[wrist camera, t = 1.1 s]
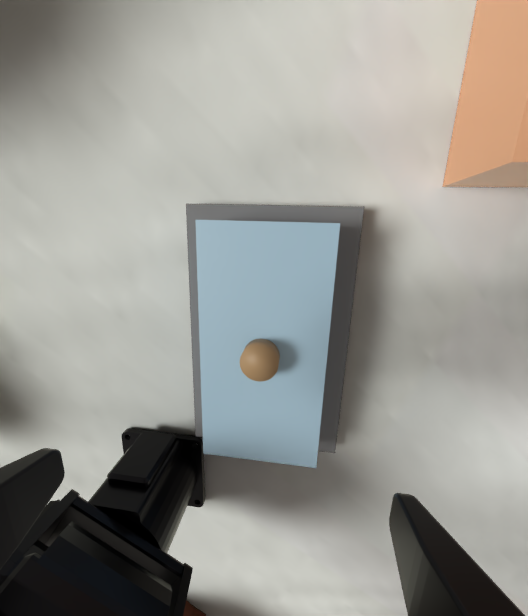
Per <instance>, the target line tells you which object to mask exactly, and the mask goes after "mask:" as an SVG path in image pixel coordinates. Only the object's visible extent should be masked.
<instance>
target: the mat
mask: <svg viewBox="0 0 528 616" xmlns="http://www.w3.org/2000/svg"><path fill="white" fill-rule="evenodd" d="M363 212H364V207H349V206H291V205H234V204H186V215H187V239H188V263H189V287H190V311H191V335H192V359H193V383H194V407H195V431H196V436H199V437H203V429H202V400H201V370H200V340H199V311H198V281H197V251H196V222H195V220H230V221H271V222H311V223H340V231H339V241H338V252H337V262H336V272H335V282H334V292H333V303H332V313H331V323H330V333H329V343H328V354H327V364H326V374H325V384H324V394H323V404H322V415H321V425H320V435H319V445H318V451H322V452H330V453H335V449H336V441H337V432H338V424H339V415H340V407H341V398H342V390H343V382H344V373H345V365H346V356H347V348H348V339H349V331H350V322H351V314H352V305H353V297H354V288H355V280H356V271H357V263H358V255H359V246H360V238H361V229H362V221H363Z"/></svg>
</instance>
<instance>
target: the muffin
mask: <svg viewBox="0 0 528 616" xmlns="http://www.w3.org/2000/svg"><path fill="white" fill-rule="evenodd" d="M183 616H206V614H204V613H203V612H201V611H200V610H198V609H197V608H195V607H194V606H193V605H191V604H190V603H189V602H188V601H187V600H186V604H185V609H184V614H183Z"/></svg>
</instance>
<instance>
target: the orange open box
mask: <svg viewBox="0 0 528 616" xmlns="http://www.w3.org/2000/svg"><path fill="white" fill-rule="evenodd" d="M443 187H528V0H477V4H476V9H475V15H474V20H473V26H472V31H471V36H470V42H469V47H468V53H467V58H466V63H465V69H464V74H463V80H462V85H461V90H460V96H459V101H458V107H457V112H456V117H455V123H454V128H453V134H452V139H451V144H450V150H449V155H448V161H447V166H446V171H445V177H444V182H443Z"/></svg>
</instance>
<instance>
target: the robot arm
mask: <svg viewBox="0 0 528 616" xmlns="http://www.w3.org/2000/svg"><path fill="white" fill-rule="evenodd" d="M122 443H123V451H124V455H123V456H122V457H121V459H120V460H119V461H118V462H117V464H116V465H115V466H114V467H113V469H112V470H111V471H110V472H109V473H108V475H107V477H108V478H107V479H106V480H105V481H104V483H103V484H102V485H101V486H100V488H99V489H98V490H97V491H96V493H95V494H94V495H93V496H92V498H91V499H90V500H89V501H86V500H84V499H83V498H81V497H80V496H79V495H80V494H79V493H78V492H76V491H74V490H73V489H72V490H71V491H70V492H69V493H68V494H67V495H66V496H65V497H64V498H63V499H62V500H61V501H60V500H57V501H50V499H51V498H52V496H53V495H54V493H55V492H56V490H57V489H58V487H59V486H60V484H61V483H62V481H63V478H64V467H63V462H62V457H61V453H60V451H59V450H57V449H49V448H44V449H40V450H38V451H36V452H34V453H32V454H29V455H27V456H25V457H23V458H21V459H19V460H16V461H14V462H12V463H10V464H8V465H6V466H3V467H1V468H0V616H183V614H184V609H185V604H186V599H187V594H188V589H189V584H190V579H191V574H192V569H193V568H192V567H191V566H189V565H188V564H186V563H184V564H182V563H181V562H179V561H178V560H176V559H175V558H173V557H172V556H170V555H169V554H167V552H168V550H169V547H170V545H171V543H172V540H173V538H174V535H175V533H176V531H177V528H178V526H179V524H180V521H181V519H182V517H183V514H184V512H185V509H186V507H187V506H194V507H201V506H203V504H204V501H205V481H204V454H203V440H202V439H201V438H199V437H196V436H188V435H180V434H171V433H163V432H155V431H147V430H139V429H131V428H129V429H126V430H125V431H124V432H123V434H122ZM195 443H196V444H198V445H196V444H195ZM49 501H50V502H49ZM48 502H49V503H48ZM47 504H48V505H47ZM46 505H47V506H46ZM45 506H46V507H45ZM389 525H390V532H391V537H392V541H393V546H394V551H395V556H396V561H397V565H398V570H399V575H400V580H401V585H402V589H403V594H404V599H405V603H406V608H407V612H408V616H525V615H524V614H523V613H522V612H521V611H520V610H519V609H518V607H517V606H516V605H515V604H514V603H513V602H512V601H511V600H510V599H509V598H508V597H507V596H506V595H505V593H504V592H503V591H502V590H501V589H500V588H499V587H498V586H497V585H496V584H495V583H494V582H493V581H492V579H491V578H490V577H489V576H488V575H487V574H486V573H485V572H484V571H483V570H482V569H481V568H480V567H479V565H478V564H477V563H476V562H475V561H474V560H473V559H472V558H471V557H470V556H469V555H468V554H467V553H466V551H465V550H464V549H463V548H462V547H461V546H460V545H459V544H458V543H457V542H456V541H455V540H454V539H453V537H452V536H451V535H450V534H449V533H448V532H447V531H446V530H445V529H444V528H443V527H442V526H441V525H440V523H439V522H438V521H437V520H436V519H435V518H434V517H433V516H432V515H431V514H430V513H429V512H428V511H427V509H426V508H425V507H424V506H423V505H422V504H421V503H420V502H419V501H418V500H417V499H416V498H415V497H414V496H412V495H409V494H401V493H396V494H395V495H394V497H393V502H392V507H391V513H390V518H389Z"/></svg>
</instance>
